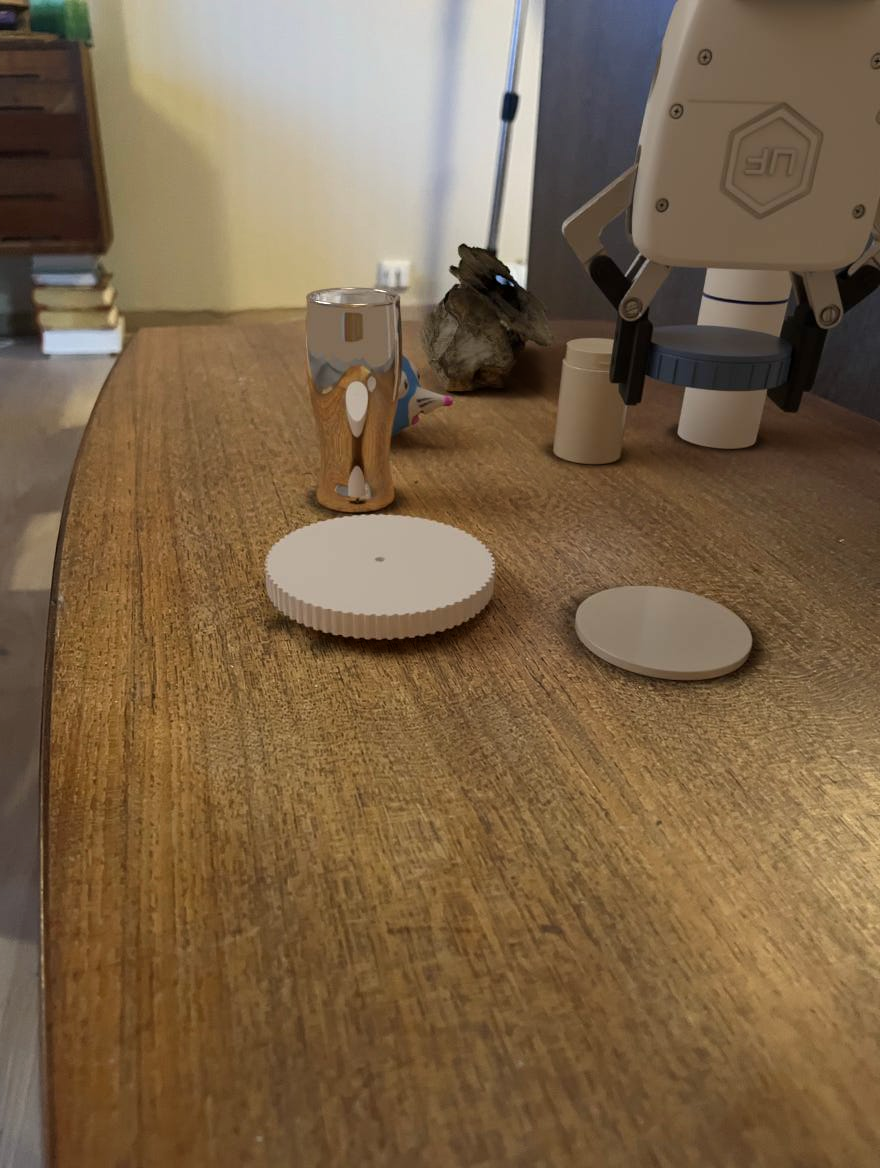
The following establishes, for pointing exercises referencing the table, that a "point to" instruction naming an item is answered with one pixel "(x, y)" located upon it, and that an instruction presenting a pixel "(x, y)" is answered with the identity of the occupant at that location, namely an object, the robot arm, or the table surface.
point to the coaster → (663, 632)
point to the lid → (718, 358)
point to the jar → (589, 405)
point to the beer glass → (354, 392)
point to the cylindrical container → (745, 306)
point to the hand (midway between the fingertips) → (704, 399)
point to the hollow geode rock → (481, 324)
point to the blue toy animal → (414, 399)
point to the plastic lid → (379, 576)
